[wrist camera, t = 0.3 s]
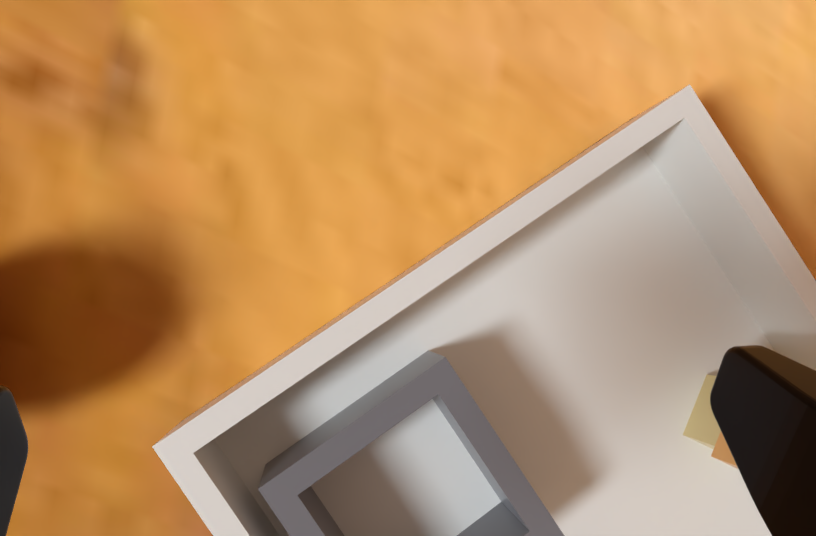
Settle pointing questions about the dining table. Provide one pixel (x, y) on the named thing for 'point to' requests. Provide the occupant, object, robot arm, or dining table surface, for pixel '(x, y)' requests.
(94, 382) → the dining table surface
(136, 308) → the dining table surface
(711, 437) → the tan square peg
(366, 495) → the walled tray
